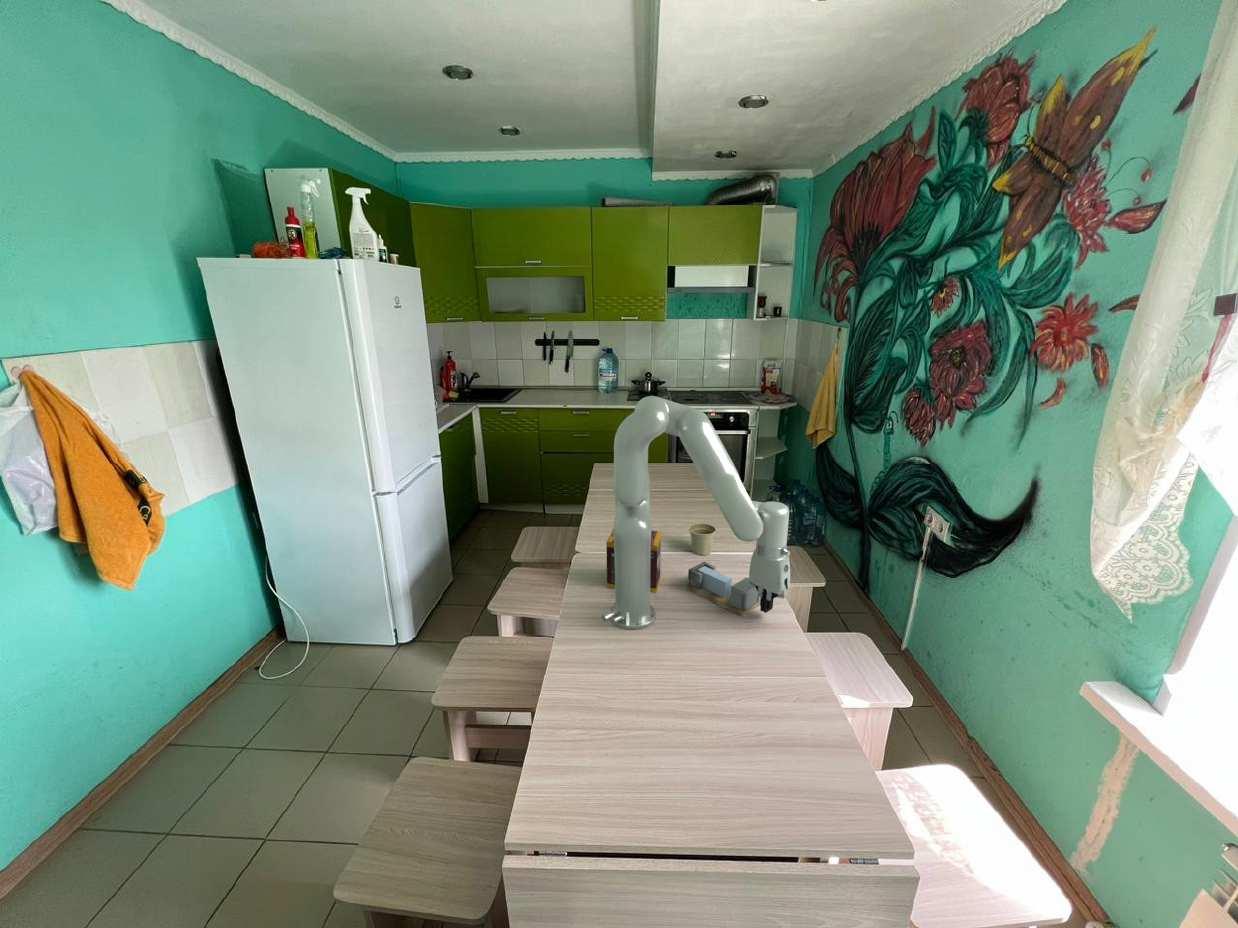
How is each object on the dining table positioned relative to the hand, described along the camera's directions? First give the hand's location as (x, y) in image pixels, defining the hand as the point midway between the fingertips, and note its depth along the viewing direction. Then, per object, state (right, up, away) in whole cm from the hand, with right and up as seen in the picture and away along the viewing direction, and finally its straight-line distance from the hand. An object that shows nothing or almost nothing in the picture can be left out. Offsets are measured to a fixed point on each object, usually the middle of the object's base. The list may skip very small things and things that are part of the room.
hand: (766, 609), depth 141 cm
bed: (-10, +1, +11) cm, 15 cm away
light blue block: (-12, +3, +13) cm, 18 cm away
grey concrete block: (-5, +1, +5) cm, 7 cm away
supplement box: (-35, +3, +20) cm, 40 cm away
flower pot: (-11, +9, +39) cm, 41 cm away
